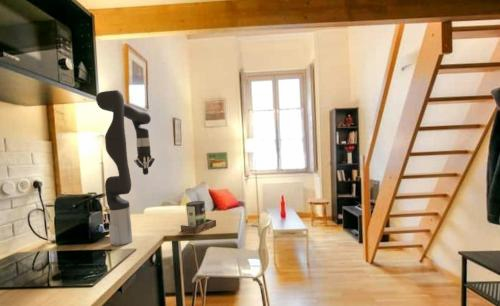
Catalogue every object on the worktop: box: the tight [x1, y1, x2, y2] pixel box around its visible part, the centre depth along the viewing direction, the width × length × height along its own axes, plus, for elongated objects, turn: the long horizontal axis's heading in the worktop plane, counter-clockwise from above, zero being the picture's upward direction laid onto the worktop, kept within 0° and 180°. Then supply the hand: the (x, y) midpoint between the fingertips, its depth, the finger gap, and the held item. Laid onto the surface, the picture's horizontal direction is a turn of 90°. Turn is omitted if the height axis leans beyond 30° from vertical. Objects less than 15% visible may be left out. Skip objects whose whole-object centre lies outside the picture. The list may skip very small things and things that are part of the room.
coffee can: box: [185, 200, 207, 227], centre depth 156 cm, size 10×10×14 cm
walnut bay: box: [180, 218, 217, 234], centre depth 155 cm, size 16×11×3 cm
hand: (145, 174), depth 169 cm, fingers closed
